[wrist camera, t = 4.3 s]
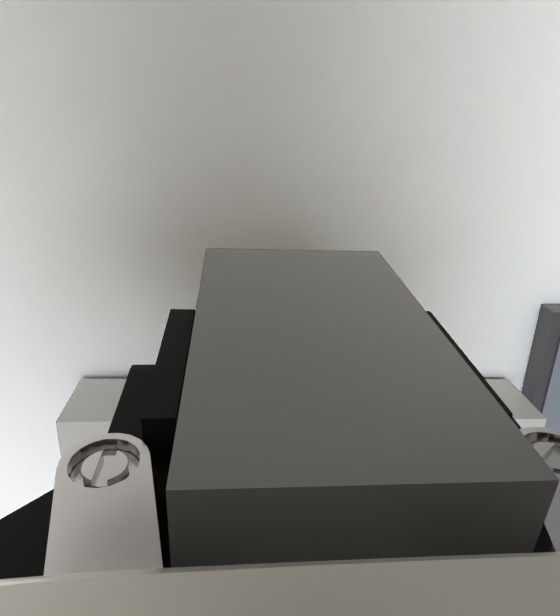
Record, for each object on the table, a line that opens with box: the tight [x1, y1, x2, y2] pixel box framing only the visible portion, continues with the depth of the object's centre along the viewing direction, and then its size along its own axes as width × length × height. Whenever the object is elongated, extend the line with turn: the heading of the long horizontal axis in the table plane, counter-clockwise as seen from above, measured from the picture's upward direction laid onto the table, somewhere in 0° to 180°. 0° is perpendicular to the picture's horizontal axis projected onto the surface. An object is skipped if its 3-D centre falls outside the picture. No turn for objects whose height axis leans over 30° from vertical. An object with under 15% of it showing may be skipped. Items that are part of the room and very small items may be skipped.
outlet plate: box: [56, 379, 547, 458], centre depth 22 cm, size 13×18×3 cm
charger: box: [166, 248, 560, 568], centre depth 10 cm, size 4×4×8 cm
